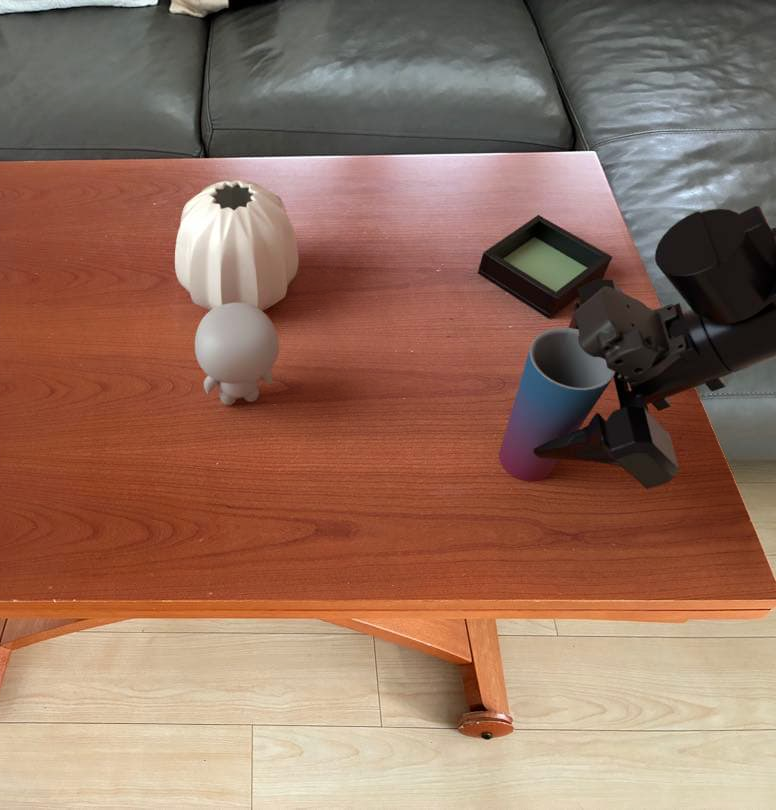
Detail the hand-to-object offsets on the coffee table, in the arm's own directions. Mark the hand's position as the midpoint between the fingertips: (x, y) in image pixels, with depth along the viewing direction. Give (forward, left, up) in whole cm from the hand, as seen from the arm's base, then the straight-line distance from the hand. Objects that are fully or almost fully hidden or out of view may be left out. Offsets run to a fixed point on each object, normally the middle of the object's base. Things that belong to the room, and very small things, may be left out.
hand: (530, 413), depth 69 cm
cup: (-1, 0, -7) cm, 7 cm away
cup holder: (-1, -27, -7) cm, 28 cm away
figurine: (+28, 0, -7) cm, 29 cm away
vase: (+33, -16, -7) cm, 37 cm away
